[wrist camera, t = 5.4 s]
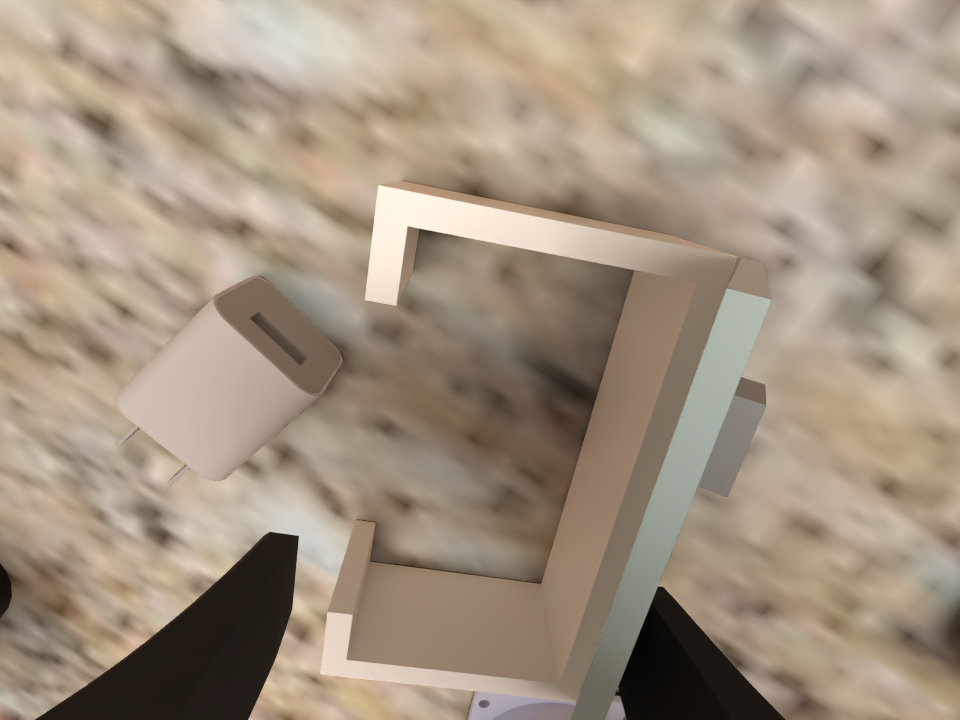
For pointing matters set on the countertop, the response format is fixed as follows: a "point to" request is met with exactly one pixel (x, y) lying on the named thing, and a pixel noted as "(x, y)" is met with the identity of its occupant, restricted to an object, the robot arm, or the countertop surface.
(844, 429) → the countertop surface
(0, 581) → the cup
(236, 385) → the usb wall charger
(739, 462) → the cover
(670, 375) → the c-shaped bracket
